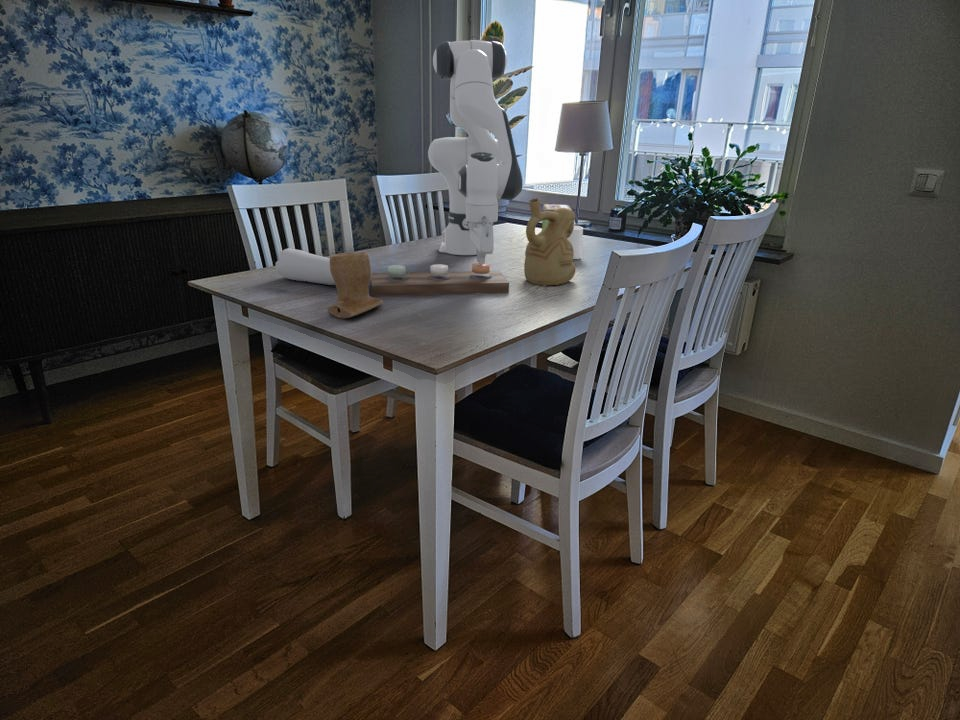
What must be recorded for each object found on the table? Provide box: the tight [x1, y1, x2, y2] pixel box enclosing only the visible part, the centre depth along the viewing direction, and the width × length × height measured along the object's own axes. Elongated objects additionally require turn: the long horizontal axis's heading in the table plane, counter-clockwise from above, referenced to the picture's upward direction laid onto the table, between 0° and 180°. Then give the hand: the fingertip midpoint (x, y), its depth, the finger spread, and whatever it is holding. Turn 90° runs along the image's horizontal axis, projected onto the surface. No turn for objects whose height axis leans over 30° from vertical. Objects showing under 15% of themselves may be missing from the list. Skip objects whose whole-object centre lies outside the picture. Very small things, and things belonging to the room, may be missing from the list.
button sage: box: [387, 264, 407, 276], centre depth 176 cm, size 5×5×2 cm
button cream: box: [430, 263, 449, 275], centre depth 178 cm, size 5×5×2 cm
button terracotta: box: [471, 262, 491, 274], centre depth 180 cm, size 5×5×2 cm
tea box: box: [541, 203, 573, 231], centre depth 237 cm, size 15×10×15 cm, turn 178°
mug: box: [567, 225, 584, 260], centre depth 216 cm, size 9×12×11 cm
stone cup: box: [326, 251, 384, 319], centre depth 155 cm, size 15×12×15 cm
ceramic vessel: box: [523, 198, 577, 286], centre depth 185 cm, size 17×20×25 cm
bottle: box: [275, 247, 372, 286], centre depth 180 cm, size 9×9×30 cm
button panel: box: [371, 270, 510, 297], centre depth 179 cm, size 14×38×3 cm, turn 99°
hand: (480, 263), depth 179 cm, fingers closed
